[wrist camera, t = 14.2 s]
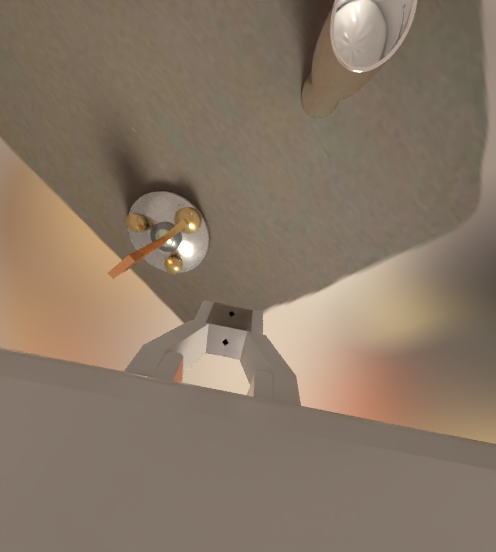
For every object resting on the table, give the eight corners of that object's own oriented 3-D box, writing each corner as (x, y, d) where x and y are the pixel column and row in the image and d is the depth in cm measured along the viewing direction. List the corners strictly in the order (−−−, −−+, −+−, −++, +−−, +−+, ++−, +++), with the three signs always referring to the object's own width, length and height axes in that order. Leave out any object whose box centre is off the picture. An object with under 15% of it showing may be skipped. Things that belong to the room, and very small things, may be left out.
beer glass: (353, 99, 28) (432, 27, 15) (311, 132, 31) (347, 96, 17) (333, 46, 26) (406, -93, 13) (289, 87, 28) (312, 3, 15)
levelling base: (115, 207, 39) (104, 209, 36) (187, 177, 35) (181, 177, 32) (158, 277, 46) (151, 283, 43) (222, 258, 42) (219, 264, 39)
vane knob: (190, 201, 35) (157, 210, 24) (206, 222, 37) (182, 240, 26) (143, 241, 40) (97, 264, 29) (159, 259, 41) (122, 287, 30)
